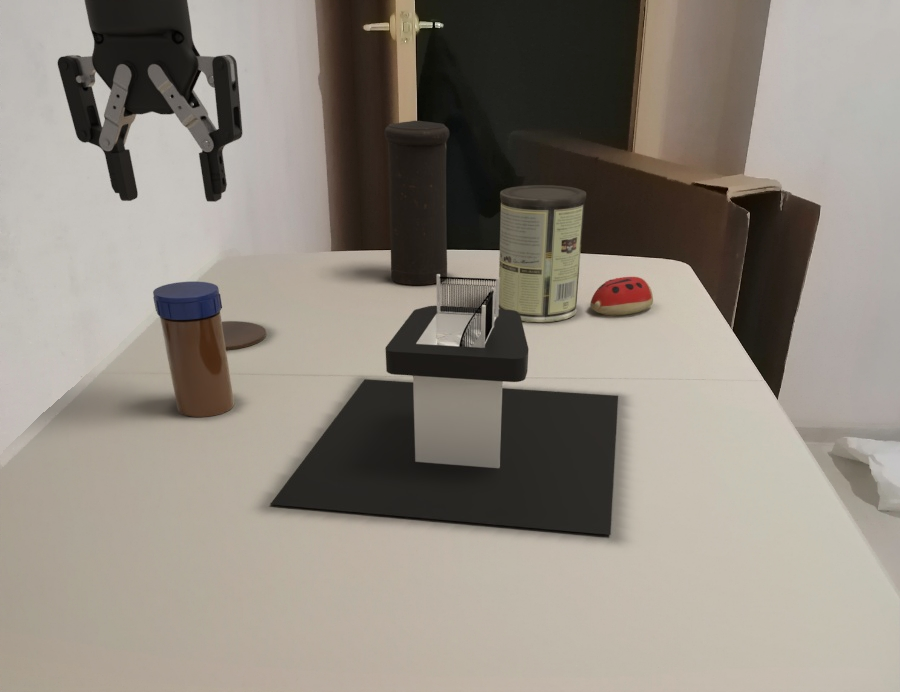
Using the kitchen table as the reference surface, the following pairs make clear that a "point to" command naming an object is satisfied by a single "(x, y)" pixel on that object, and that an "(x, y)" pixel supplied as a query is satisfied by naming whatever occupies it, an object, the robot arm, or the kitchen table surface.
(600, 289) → the ladybug figurine
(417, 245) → the container
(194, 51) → the robot arm
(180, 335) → the jar
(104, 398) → the kitchen table surface
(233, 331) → the coaster
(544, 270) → the coffee can
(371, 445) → the black-topped pedestal
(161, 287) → the lid
